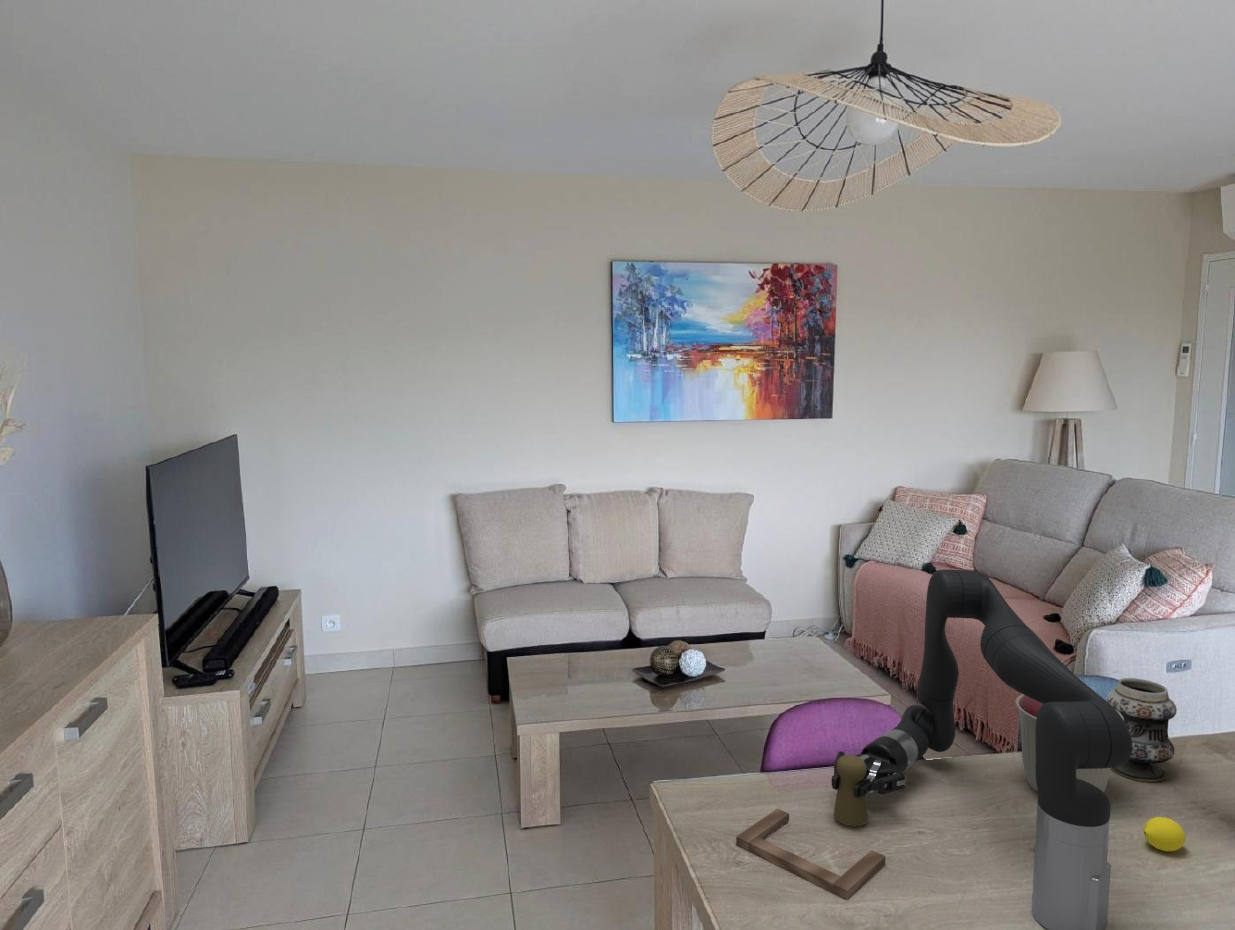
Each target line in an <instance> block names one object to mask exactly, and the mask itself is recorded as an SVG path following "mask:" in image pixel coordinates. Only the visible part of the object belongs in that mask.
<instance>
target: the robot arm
mask: <svg viewBox="0 0 1235 930" xmlns="http://www.w3.org/2000/svg"><path fill="white" fill-rule="evenodd" d="M931 574H932V575H931V576H930V578H929V582H928V585H927V591H926V599H925V600H926V603H925V615H924V616H925V619H924V641H923V642H924V643H923V644H924V647H923V659H922V664H921V670H920V673H919V679H918V684H917V687H916V698H917V700H918V702H919V703H920V704H921V705H920V704H911V705H909V706H908V707H907V708H906V709H905V710H904V712H903V714H902V716H901V719H900V721H899V722H898V724H897V726H895V727H894V728H892V729H890V730H889V731H887V732H884V733H882V734H881V735H879V736H878V737H876V738H875V739H873V741H871V742H870V743H868V744H866V745H865V746H864V747H863V749H862V750H861V752H860V753H858V754H853V755H854V756H857V757H860V758H861V759H863V760H864V762H865V764H866V767H867V771H866V775H865V777H864V778H863V780H862V781H860V782H859V783H857V784H856V785H855V786H854V794H853V796H854V797H855V798H859V797H863V796H866V795H868V794H869V793H873V792H874V791H875V792H876V793H877V794H878V795H880V796H882V795H887V794H890V793H894V792H897V791H900V790H905V788H906V774H905V772H906V771H907V770H909V769H910V768H911V767H912V766H913V764H914V763H916V762H917V761H918V760H919V759H920V758H923V756H924V755H925V754H926V753H927V751H928V749H930V750H931V751H934V752H936V753H937V752H938V753H943V752H946V751H947V750H949V749H950V748H951V747H952V745H953V743H954V741H955V738H956V721H955V711H954V708H955V707H954V700H955V693H956V690H957V686H958V681H959V673H960V671H959V665H958V661H957V658H956V656H955V654H954V652H953V650H952V648H951V645H950V643H949V641H948V638H947V635H946V625H947V620H948V618H949V619H950V618H951V619H956V618H957V619H971V620H977V621H979V622H980V623H981V624H983V625H984V628H983V629H982V633H981V637H980V651H981V654H982V657H983V658H984V660H985V661H986V663H987V665H988V666H989V667H990V668H991V669H992V671H994V674H996V676H997V677H998V678H999V679H1000V680H1001V681H1002V682H1003V683H1005V685H1007V686H1008V687H1010V688H1012V689H1013V690H1015V691H1016V692H1018V693H1020V694H1021V695H1022V694H1024V695H1026V696H1028V697H1030V698H1032V699H1034V700H1036V701H1038V702H1040V703H1042V704H1043V705H1042V706H1041V708H1040V709H1039V711H1038V714H1037V718H1036V726H1035V744H1036V767H1035V770H1036V783H1037V790H1038V792H1037V801H1036V802H1037V804H1036V805H1037V807H1036V823H1035V837H1034V838H1035V840H1034V841H1035V843H1034V855H1033V857H1034V860H1033V873H1032V874H1033V876H1032V878H1033V879H1032V894H1031V913H1032V916H1033V918H1034V919H1035V920H1036V921H1037V923H1039V924H1040V925H1041V926H1042V927H1044V928H1045V929H1047V930H1105V929H1106V926H1107V925H1108V914H1109V913H1108V911H1109V901H1110V900H1109V899H1110V897H1109V896H1110V885H1111V871H1112V867H1111V866H1112V865H1111V863H1110V862H1108V853H1109V836H1110V833H1109V832H1110V823H1111V822H1110V820H1111V810H1112V809H1111V806H1112V805H1111V800H1110V798H1109V796H1108V794H1106V793H1105V792H1103V791H1102V790H1100V789H1099V788H1097V787H1096V786H1094V785H1092V784H1090V783H1088V782H1086V781H1083V780H1080V779H1077V778H1076V769H1103V768H1113V767H1117V766H1121V765H1123V764H1125V763H1126V762H1127V761H1128V760H1129V759H1130V757H1131V754H1132V749H1133V745H1132V738H1131V735H1130V732H1129V730H1128V727H1127V725H1126V724H1125V722H1124V720H1123V719H1122V717H1121V716H1120V715H1119V713H1118V712H1117V711H1116V710H1115V709H1114V708H1113V707H1112V706H1111V705H1110V704H1109V703H1108V702H1107V699H1105V698H1103V697H1102V696H1101V695H1100V694H1099V693H1097V692H1096V691H1095V690H1094V689H1093V688H1091V687H1090V686H1089V685H1087V684H1086V683H1085V682H1084V681H1082V680H1081V679H1080V678H1079V677H1078V676H1077V675H1076V674H1074V673H1073V671H1071V670H1070V668H1068V667H1067V665H1066V664H1064V663H1063V662H1062V661H1061V660H1060V658H1058V657H1057V656H1056V655H1055V654H1054V652H1053V651H1051V649H1050V648H1049V647H1048V646H1047V645H1046V644H1045V642H1044V641H1043V640H1042V639H1041V638H1040V637H1039V636H1038V635H1037V634H1036V633H1035V632H1034V631H1033V630H1032V629H1031V628H1030V627H1029V626H1028V625H1027V624H1026V623H1025V622H1024V620H1022V619H1021V618H1020V616H1019V615H1018V614H1017V613H1016V612H1015V611H1014V610H1013V608H1012V607H1011V606H1010V605H1009V604H1008V602H1007V601H1006V599H1005V598H1004V597H1003V596H1002V594H1001V593H1000V591H999V589H998V588H997V586H996V585H995V583H993V581H992V580H991V579H990V578H989V577H988V575H986V574H985V573H983V572H981V571H978V570H972V569H971V570H969V569H968V570H967V569H965V570H964V569H938V570H937V569H936V570H935V571H934V572H933V573H931ZM922 705H923V706H922ZM845 755H846V753H845V752H844V751H841V750H840V751H838V752H837V755H836V758H835V760H834V761H833V762H834V763H833V775H832V776H831V789H833V790H835V791H837V790H838V789H839V782H840V775H839V774H838V772H837V762H838V760H839V758H840V757H842V756H845ZM885 784H886V786H885Z"/></svg>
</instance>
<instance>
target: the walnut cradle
mask: <svg viewBox="0 0 1235 930" xmlns="http://www.w3.org/2000/svg"><path fill="white" fill-rule="evenodd" d="M788 821H789V822H790V813H788V812H786V811H784V810H782V809H780V808H776V809H774V810H773V811H771V812H770V813H769V814H767V815H765V816H764V817H763V818H761V819H760V820H758V821H757V822H755V823H754V824H752V825H751V826H750V827H748V828H746V829H745V830H744V831H742V832H741V833H739V834H738V835H736V836H735V838H736V839H735V840H736V843H735V845H736V846H738V847H740V848H742V849H744V850H746V851H749V852H750V853H752V854H754V855H756V856H758V857H760V858H762V859H764V860H766V861H768V862H771V863H772V864H774V865H776V866H779V867H781V868H782V869H784V870H786V871H788V872H790V873H793V874H794V875H796V876H799V877H800V878H803V879H804V880H807V881H809V882H810V883H812V884H814V885H817V886H818V887H821V888H823V889H824V890H826V891H828V892H831V893H833V894H834V895H836V896H838V897H840V898H842V899H844V900H848V899H850V898H851V897H852V896H853V895H854V894H855V893H856V892H857V891H858V890H859V889H860V888H862V887H863V886H864V885H865V884H866V883H867V882H868V881H869V880H870V879H871V878H873V876H875V875H876V874H877V873H878V872H879V871H880V870H881V869H882V868H883V867H884V866H885V865H886V855H884V854H882V853H879V852H877V851H875V850H873V849H870V851H869V852H867V853H866V854H865V855H863V856H862V858H860V859H859V860H858V861H857V862H856V863H854V864H853V865H852V866H851V867H850V868H849V869H848V870H846V871H845V872H844V873H843V874H842V875H841V876H840V875H838V874H836V873H834V872H832V871H830V870H828V869H826V868H824V867H822V866H819V865H818V864H816V863H813V862H812V861H809V860H807V859H806V858H803V857H801V856H799V855H796V854H794V853H793V852H790V851H789V850H786V849H784V848H783V847H780V846H778V845H776V844H774V843H771V842H770V841H768V840H765V839H766V837H767V836H768V835H769V836H771V835H772V834H773V833H772V832H773V831H775V832H777V831H778V830H779V829H780V827H781V826H782V825H783V824H785V823H786V824H788V823H789V822H788ZM787 822H788V823H787ZM786 824H785V825H786ZM783 826H784V825H783ZM783 826H782V827H783ZM782 827H781V828H782ZM777 829H778V830H777ZM771 833H772V834H771ZM770 834H771V835H770ZM769 836H768V837H769ZM768 837H767V838H768Z"/></svg>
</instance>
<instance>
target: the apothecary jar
mask: <svg viewBox="0 0 1235 930" xmlns="http://www.w3.org/2000/svg"><path fill="white" fill-rule="evenodd" d="M1106 701H1107V702H1108V703H1109V704H1110V705H1111V706H1112V707H1113V708H1114V709H1116V710H1117V711H1118V712H1120V713H1121V715H1122V716H1123V718H1124V722H1125V724H1126V725H1127V727H1128V730H1129V732H1130V735H1131V738H1132V745H1133V749H1132V754H1131V757H1130V759H1129V760H1128V761H1127V762H1126V763H1125V764H1123V765H1121V766H1117V767H1113V768H1111V769H1110V771H1112V772H1114V773H1116V774H1117V775H1120V776H1122V777H1124V778H1127V779H1130V780H1134V781H1139V782H1146V783H1158V782H1162V781H1165V779H1166V777H1167V773H1166V772H1165V770H1164V769H1163V768H1161V766H1158V765H1157V764H1162V763H1166V762H1167V761H1170V760H1171V759H1172V758H1173V757H1174V755H1175V747H1174V744H1173V743H1172V741H1171V740H1170V739H1169V737H1168V735H1169V721H1170V720H1172V719H1173V718H1174V717H1175V716H1176V714H1177V712H1178V710H1177V705H1176V704H1175V702H1174V701H1173V700H1172V699H1171V698H1170V696H1169V693H1168V688H1167V687H1166V686H1164V685H1162V684H1161V683H1158V682H1155V681H1152V680H1147V679H1143V678H1135V677H1123V678H1120V679H1119V680H1118V681H1117V685H1116V687H1115V688H1113V689H1112V690H1110V691H1109V692H1108V694H1107V696H1106Z"/></svg>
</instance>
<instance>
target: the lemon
mask: <svg viewBox="0 0 1235 930" xmlns="http://www.w3.org/2000/svg"><path fill="white" fill-rule="evenodd" d="M1143 836H1144V838H1145V840H1147V842H1148V843H1149V845H1151V846H1153V847H1154V848H1155V849H1156V850H1159V851H1163V852H1167V853H1168V852H1176V851H1177V850H1180V849H1182V847H1183V846H1184V845H1185V843H1186V833H1185V832H1184V830H1183V828H1182V826H1181V825H1180V824H1179V823H1178V822H1177V821H1175V820H1173V819H1170V818H1169V817H1167V816H1166V817H1164V816H1155V817H1151V818H1149V819H1147V821H1146V822H1145V823H1144V826H1143Z"/></svg>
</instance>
